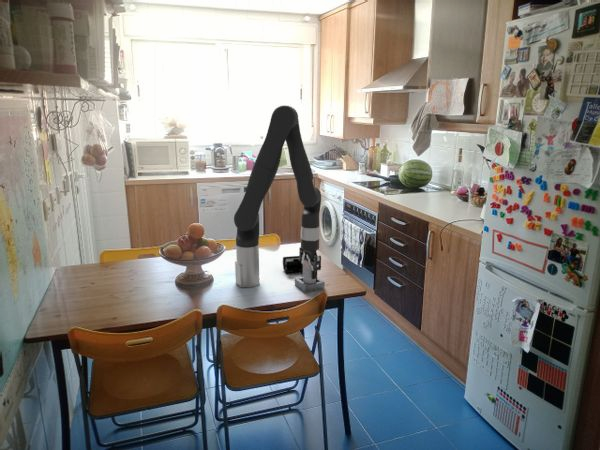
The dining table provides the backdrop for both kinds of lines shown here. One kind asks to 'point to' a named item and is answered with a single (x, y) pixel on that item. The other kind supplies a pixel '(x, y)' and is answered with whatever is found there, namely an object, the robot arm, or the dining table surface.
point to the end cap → (292, 265)
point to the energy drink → (307, 273)
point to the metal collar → (309, 285)
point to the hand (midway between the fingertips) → (309, 275)
